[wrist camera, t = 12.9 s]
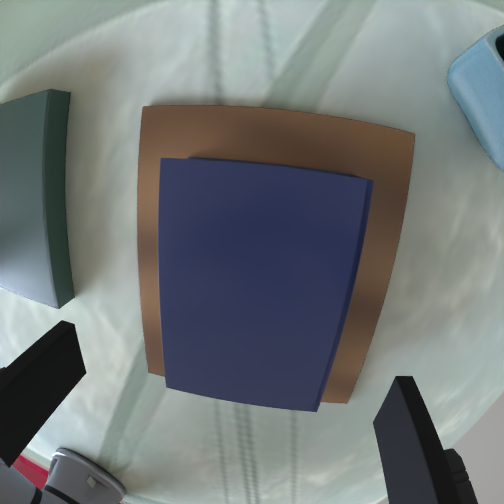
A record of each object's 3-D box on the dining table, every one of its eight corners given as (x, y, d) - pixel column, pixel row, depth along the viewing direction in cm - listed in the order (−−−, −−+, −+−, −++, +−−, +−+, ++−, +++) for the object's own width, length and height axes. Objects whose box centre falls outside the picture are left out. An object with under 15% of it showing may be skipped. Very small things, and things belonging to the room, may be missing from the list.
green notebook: (74, 297, 24) (59, 309, 22) (-1, 273, 25) (-15, 281, 23) (70, 92, 18) (51, 88, 16) (-8, 114, 19) (-25, 114, 17)
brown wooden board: (346, 399, 23) (347, 403, 23) (150, 369, 25) (147, 372, 25) (412, 134, 16) (415, 133, 16) (145, 107, 18) (142, 106, 18)
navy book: (315, 371, 22) (316, 412, 18) (185, 351, 23) (166, 387, 19) (355, 175, 17) (374, 180, 13) (189, 156, 18) (160, 157, 14)
